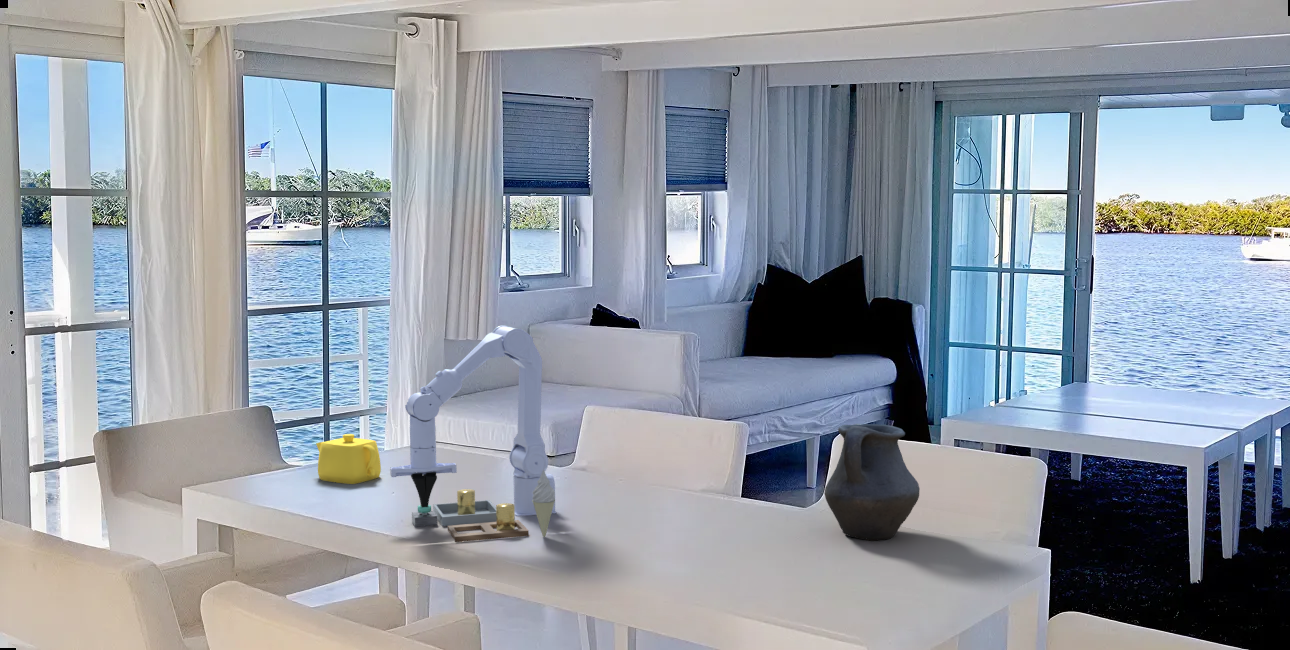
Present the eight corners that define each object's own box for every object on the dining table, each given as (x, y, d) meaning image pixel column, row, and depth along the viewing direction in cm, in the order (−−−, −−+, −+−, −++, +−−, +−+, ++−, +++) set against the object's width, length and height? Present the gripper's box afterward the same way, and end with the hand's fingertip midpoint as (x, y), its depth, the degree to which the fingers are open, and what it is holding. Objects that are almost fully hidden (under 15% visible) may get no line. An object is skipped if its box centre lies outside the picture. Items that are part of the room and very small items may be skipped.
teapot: (302, 478, 343) (301, 434, 341) (335, 470, 353) (334, 427, 352) (358, 486, 332) (357, 441, 331) (391, 477, 343) (390, 433, 342)
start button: (430, 519, 293) (430, 504, 293) (432, 522, 290) (432, 507, 290) (417, 520, 292) (416, 505, 292) (418, 523, 290) (418, 508, 289)
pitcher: (932, 530, 284) (933, 418, 282) (898, 553, 266) (900, 433, 263) (844, 519, 295) (845, 410, 292) (805, 541, 276) (806, 425, 274)
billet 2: (512, 529, 288) (512, 502, 287) (516, 533, 284) (516, 506, 283) (494, 530, 286) (494, 504, 286) (498, 535, 283) (498, 508, 282)
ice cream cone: (534, 540, 277) (534, 471, 276) (530, 535, 282) (529, 467, 281) (557, 539, 279) (557, 470, 277) (553, 533, 284) (552, 465, 282)
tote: (489, 509, 306) (489, 500, 305) (500, 522, 293) (500, 512, 293) (433, 514, 302) (433, 504, 301) (442, 527, 289) (442, 517, 289)
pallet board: (518, 525, 291) (518, 519, 291) (528, 535, 282) (528, 530, 281) (447, 531, 286) (447, 525, 286) (455, 542, 277) (455, 536, 276)
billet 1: (473, 514, 300) (473, 488, 299) (476, 518, 296) (476, 492, 296) (456, 515, 299) (455, 490, 298) (459, 519, 295) (458, 493, 294)
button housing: (434, 521, 295) (434, 510, 294) (437, 526, 290) (437, 515, 290) (412, 523, 293) (411, 512, 293) (415, 528, 288) (414, 517, 288)
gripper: (452, 441, 296) (453, 499, 297) (388, 445, 291) (389, 504, 293) (457, 446, 289) (458, 506, 290) (391, 451, 285) (393, 511, 286)
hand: (424, 506), depth 291 cm, fingers closed, pressing on start button
